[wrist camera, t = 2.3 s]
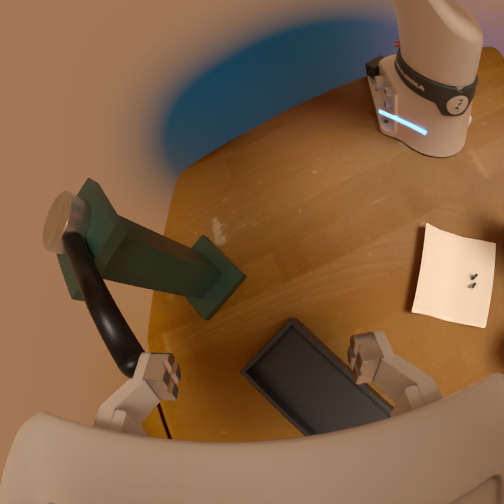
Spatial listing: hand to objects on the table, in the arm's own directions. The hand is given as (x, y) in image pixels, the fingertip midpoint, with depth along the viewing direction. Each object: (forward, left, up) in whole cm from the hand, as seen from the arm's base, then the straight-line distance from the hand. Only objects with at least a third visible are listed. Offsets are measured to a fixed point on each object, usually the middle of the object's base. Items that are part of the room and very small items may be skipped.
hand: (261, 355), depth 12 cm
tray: (+9, -1, -25) cm, 27 cm away
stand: (-10, -17, -25) cm, 32 cm away
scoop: (-6, -14, -1) cm, 15 cm away
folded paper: (-4, +19, -25) cm, 32 cm away
